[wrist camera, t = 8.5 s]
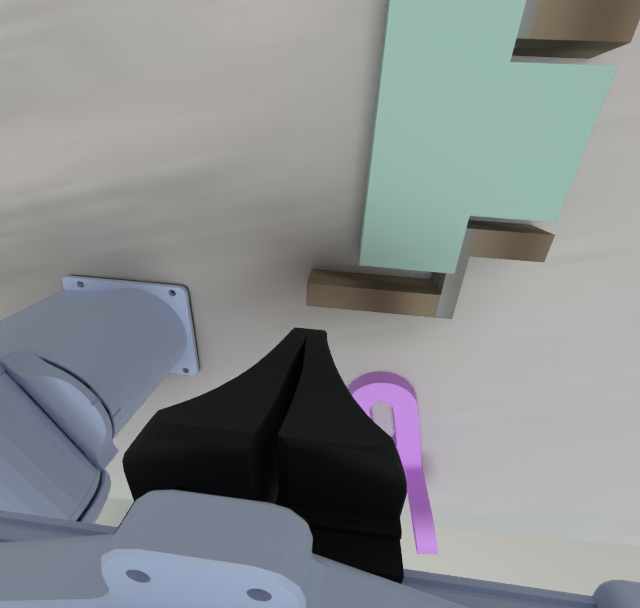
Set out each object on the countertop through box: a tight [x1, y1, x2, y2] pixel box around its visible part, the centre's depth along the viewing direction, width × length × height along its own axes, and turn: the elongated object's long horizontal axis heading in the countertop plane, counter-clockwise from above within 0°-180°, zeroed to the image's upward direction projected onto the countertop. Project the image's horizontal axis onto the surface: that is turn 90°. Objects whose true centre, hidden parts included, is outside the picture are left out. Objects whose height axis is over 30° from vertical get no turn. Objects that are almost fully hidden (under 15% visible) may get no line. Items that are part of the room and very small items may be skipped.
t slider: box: [359, 0, 617, 274], centre depth 16 cm, size 9×12×4 cm
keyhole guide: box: [307, 0, 640, 319], centre depth 16 cm, size 13×19×2 cm
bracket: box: [348, 372, 437, 554], centre depth 24 cm, size 13×6×7 cm, turn 10°
